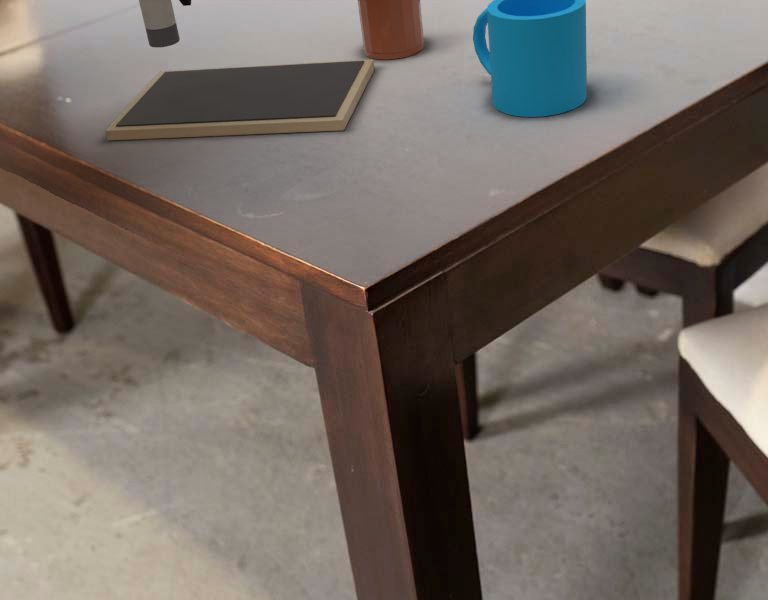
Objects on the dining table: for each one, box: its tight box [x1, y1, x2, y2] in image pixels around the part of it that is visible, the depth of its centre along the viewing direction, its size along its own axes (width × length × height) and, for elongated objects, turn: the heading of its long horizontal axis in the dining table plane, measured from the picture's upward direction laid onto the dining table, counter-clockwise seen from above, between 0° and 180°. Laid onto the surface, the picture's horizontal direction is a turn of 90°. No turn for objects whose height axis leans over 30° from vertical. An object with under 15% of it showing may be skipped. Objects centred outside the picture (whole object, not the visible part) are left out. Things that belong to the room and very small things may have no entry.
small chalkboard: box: [105, 58, 376, 141], centre depth 103 cm, size 22×15×1 cm
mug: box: [472, 0, 588, 118], centre depth 95 cm, size 12×8×8 cm
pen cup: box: [357, 0, 425, 61], centre depth 109 cm, size 6×6×8 cm
